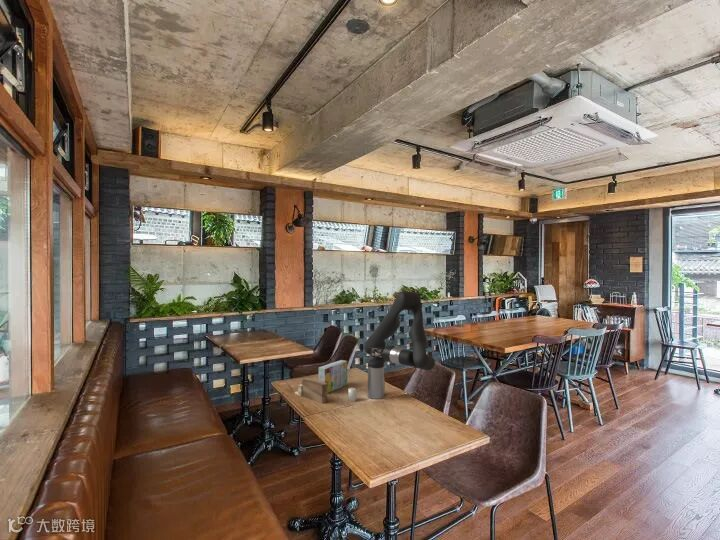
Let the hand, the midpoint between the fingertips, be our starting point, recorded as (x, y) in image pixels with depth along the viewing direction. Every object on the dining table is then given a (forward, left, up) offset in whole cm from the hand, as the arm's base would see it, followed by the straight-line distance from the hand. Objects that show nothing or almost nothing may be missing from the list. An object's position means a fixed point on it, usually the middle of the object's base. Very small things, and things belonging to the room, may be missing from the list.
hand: (367, 349), depth 192 cm
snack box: (-13, -38, -32) cm, 51 cm away
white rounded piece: (-7, -17, -32) cm, 37 cm away
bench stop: (+3, -44, -32) cm, 55 cm away
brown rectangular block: (+6, -33, -32) cm, 47 cm away
